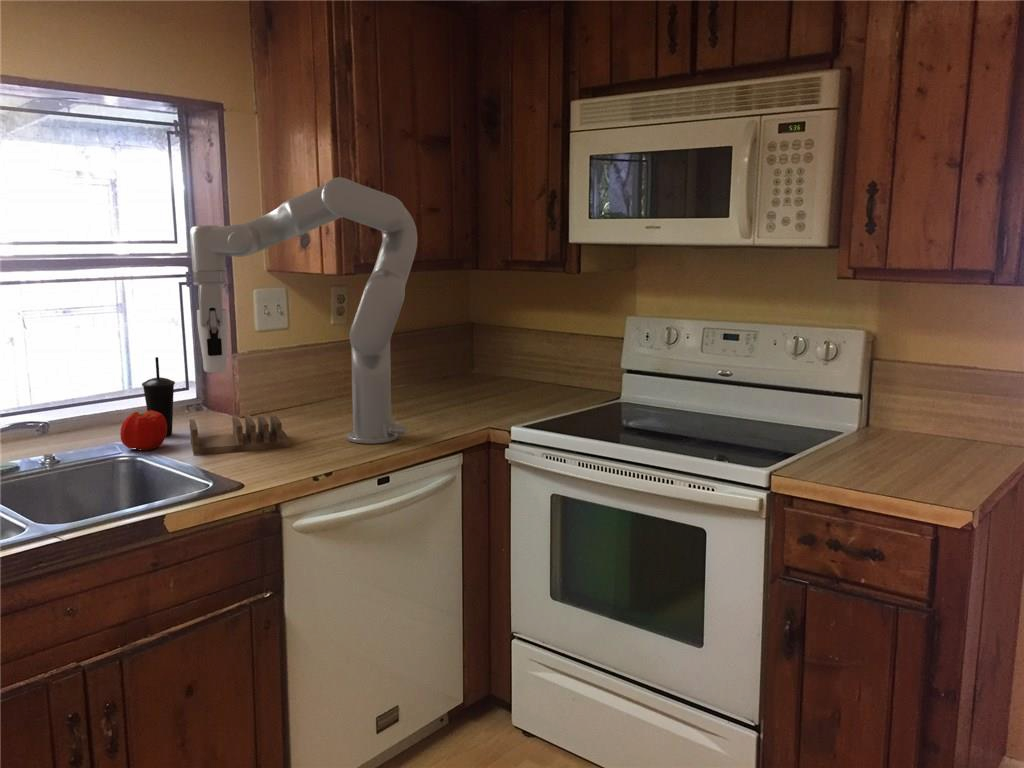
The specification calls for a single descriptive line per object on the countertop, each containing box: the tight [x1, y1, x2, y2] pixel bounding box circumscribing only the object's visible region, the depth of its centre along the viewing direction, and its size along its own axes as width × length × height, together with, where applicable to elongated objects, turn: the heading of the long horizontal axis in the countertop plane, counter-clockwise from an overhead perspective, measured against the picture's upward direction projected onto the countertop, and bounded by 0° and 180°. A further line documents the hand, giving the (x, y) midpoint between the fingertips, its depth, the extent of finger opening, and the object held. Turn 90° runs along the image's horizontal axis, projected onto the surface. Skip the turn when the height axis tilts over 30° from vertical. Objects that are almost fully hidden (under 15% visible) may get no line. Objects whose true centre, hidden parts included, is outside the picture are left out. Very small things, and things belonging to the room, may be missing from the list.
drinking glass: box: [196, 308, 228, 374], centre depth 206 cm, size 7×7×15 cm
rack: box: [189, 412, 291, 456], centre depth 207 cm, size 22×12×6 cm, turn 113°
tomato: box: [120, 410, 167, 451], centre depth 203 cm, size 11×11×9 cm
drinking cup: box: [141, 356, 176, 438], centre depth 214 cm, size 8×8×20 cm
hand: (214, 352), depth 206 cm, fingers closed on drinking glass, 5 cm apart
